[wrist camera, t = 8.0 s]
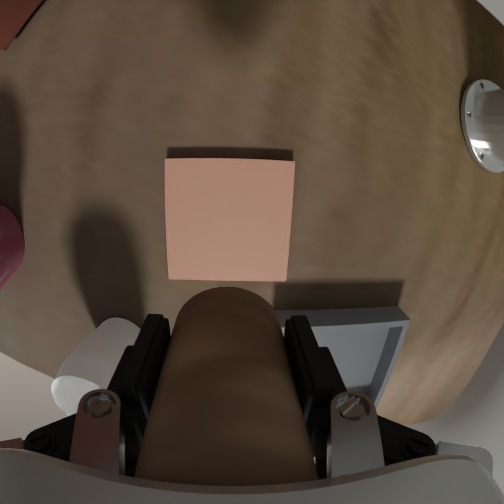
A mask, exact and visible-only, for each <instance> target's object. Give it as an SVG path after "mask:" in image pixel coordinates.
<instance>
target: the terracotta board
mask: <svg viewBox="0 0 504 504" xmlns="http://www.w3.org/2000/svg"><path fill="white" fill-rule="evenodd" d="M294 171H295V161H283V160H265V159H239V158H168V159H165V215H166V241H167V259H168V274H169V279H184V280H224V281H286V277H287V266H288V255H289V243H290V230H291V217H292V203H293V188H294Z"/></svg>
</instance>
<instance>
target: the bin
mask: <svg viewBox="0 0 504 504" xmlns="http://www.w3.org/2000/svg"><path fill="white" fill-rule="evenodd" d="M275 312H276V313H277V315H278V318H279V321H280V324H281V328H282V332H283V336H284V330H285V321H286V319H290V318H291V316H292V315H306V316H307V318H308V321H309V323H310V326H311V328H312V331H313V333H314V336H315V338H316V340H317V343H318V345H319V347H325V346H326V347H328V348H329V350H330V352H331V355H332V357H333V359H334V361H335V364H336V366H337V368H338V371H339V373H340V375H341V377H342V380H343V382H344V384H345V387H346V389H347V391H354V392H360V393H362V394H365V395H366V396H368V397H369V398H370V399H371V400H372V401H373V402H374V405H375V408H377V406H378V404H379V401H380V399H381V397H382V395H383V392H384V390H385V388H386V385H387V383H388V381H389V378H390V376H391V373H392V371H393V368H394V366H395V363H396V360H397V358H398V355H399V352H400V350H401V347H402V344H403V341H404V338H405V335H406V332H407V329H408V326H409V323H410V319H409V318H408V317H407V315H406V314H405V313H404V312H403V311H402V310H401V309H400V308H399V307H398V306H386V307H368V308H347V309H316V310H275Z"/></svg>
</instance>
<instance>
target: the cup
mask: <svg viewBox="0 0 504 504" xmlns="http://www.w3.org/2000/svg"><path fill="white" fill-rule="evenodd" d="M140 330H141V329H140V328H139V327H138V326H137V325H135V324H134V323H132V322H130V321H128V320H126V319H123V318H109V319H107V320H105V321H104V322H103V323H102V324H101V325H100V326H99V327H97V328H96V329H95V330H94V331H93V332H92V333H91V334H90V335H89V336H88V337H87V338H86V339H85V340H84V341H83V342H82V343H81V344H80V345H79V346H78V347H77V348H76V349H75V350H74V351H73V352H72V353H71V354H70V355H69V356H68V357H67V358H66V359H65V361H64V362H63V363H62V365H61V367H60V369H59V371H58V373H57V375H56V377H55V379H54V381H53V383H52V386H51V391H52V395H53V398H54V400H55V402H56V403H57V405H58V406H59V408H60V409H61V410H62V411H63V412H64V413H65V414H66V415H67V416H70V415H73V414H75V413H77V409H78V404H79V401H80V399H81V398H82V397H83V396H84V395H85V394H86V393H88V392H89V391H92V390H95V389H107V387H108V385H109V383H110V381H111V378H112V376H113V374H114V372H115V370H116V367H117V365H118V363H119V361H120V359H121V357H122V354H123V352H124V350H125V348H126V347H127V346H128V345H134V343H135V341H136V339H137V337H138V334H139V332H140Z"/></svg>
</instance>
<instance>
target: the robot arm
mask: <svg viewBox="0 0 504 504" xmlns="http://www.w3.org/2000/svg"><path fill="white" fill-rule="evenodd" d="M461 122H462V128H463V134H464V137H465V140H466V143H467V146H468V148H469V150H470V152H471V154H472V156H473V157H474V159H475V160H476V161H477V163H478V164H479V165H480V166H481V167H483V168H484V169H486V170H488V171H491V172H502V171H504V89H500V87H499V86H497V85H496V84H495V83H493V82H491V81H489V80H484V79H481V80H476V81H473V82H471V83H470V84H469V85H468V86H467V88H466V90H465V91H464V94H463V97H462V103H461ZM170 338H171V335H170V327H169V320H168V318H164V317H163V315H162V314H148V315H147V317H146V319H145V321H144V324H143V326H142V328H141V330H140V332H139V334H138V337H137V339H136V341H135V343H134V345H128V346H127V347H126V348H125V350H124V352H123V354H122V357H121V359H120V361H119V363H118V365H117V367H116V370H115V372H114V374H113V376H112V378H111V381H110V383H109V385H108V387H107V389H95V390H92V391H89V392H88V393H86V394H85V395H84V396H83V397H82V398H81V399H80V401H79V404H78V409H77V413H75V414H73V415H70V416H68V417H66V418H63V419H61V420H58V421H56V422H53V423H51V424H49V425H46V426H43V427H41V428H38V429H36V430H34V431H32V432H31V433H30V434H29V435H28V436H27V437H26V439H25V440H22V438H17V439H12V440H6V441H0V504H504V495H503V493H502V492H501V490H500V488H499V486H498V485H497V483H496V482H495V480H494V479H493V478H492V469H493V460H492V456H491V454H490V453H489V452H488V451H487V450H486V449H483V448H480V447H473V446H466V445H459V444H453V443H447V442H441V441H440V442H439V443H438V444H435V443H434V442H433V440H432V439H431V438H430V437H429V436H428V435H426V434H424V433H422V432H419V431H416V430H413V429H411V428H408V427H406V426H403V425H401V424H398V423H396V422H393V421H391V420H388V419H386V418H383V417H381V416H379V415H377V413H376V408H375V405H374V402H373V401H372V400H371V399H370V398H369V397H368V396H366V395H365V394H362V393H360V392H354V391H347V389H346V387H345V384H344V382H343V380H342V377H341V375H340V373H339V371H338V368H337V366H336V364H335V361H334V359H333V357H332V355H331V352H330V350H329V348H328V347H326V346H325V347H319V345H318V343H317V340H316V338H315V336H314V333H313V331H312V328H311V326H310V323H309V321H308V318H307V316H306V315H292V316H291V318H290V319H286V321H285V330H284V340H285V344H286V348H287V352H288V356H289V360H290V364H291V368H292V372H293V376H294V380H295V384H296V388H297V392H298V396H299V400H300V404H301V408H302V412H303V416H304V420H305V424H306V428H307V432H308V437H309V441H310V445H311V449H312V453H313V457H314V461H315V466H316V470H317V474H318V478H319V480H314V481H306V482H298V483H288V484H276V485H260V486H207V485H190V484H179V483H169V482H161V481H153V480H147V479H140V478H135V477H134V475H135V471H136V466H137V462H138V458H139V453H140V449H141V445H142V441H143V437H144V433H145V429H146V425H147V421H148V417H149V413H150V409H151V405H152V401H153V398H154V394H155V390H156V387H157V383H158V379H159V376H160V372H161V369H162V365H163V362H164V358H165V355H166V352H167V348H168V345H169V341H170Z"/></svg>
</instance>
